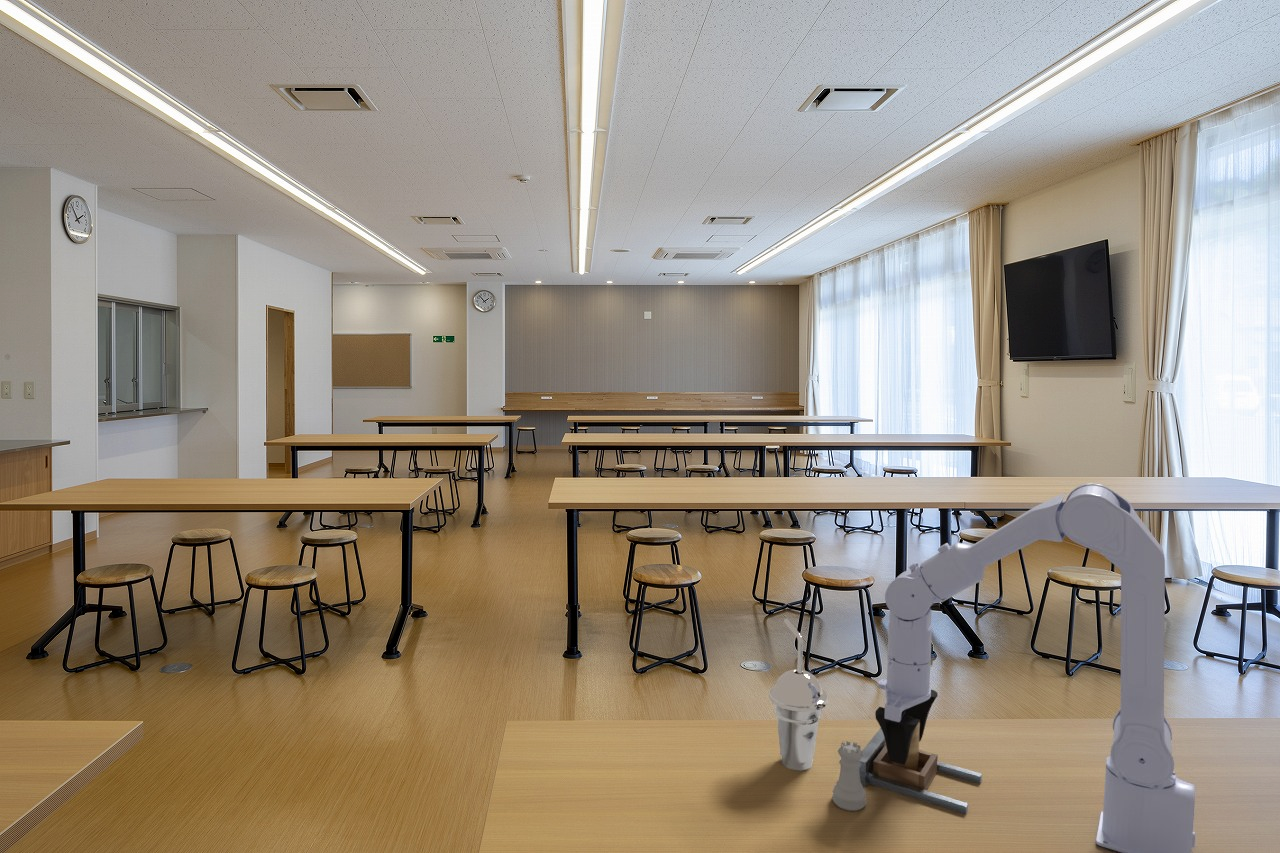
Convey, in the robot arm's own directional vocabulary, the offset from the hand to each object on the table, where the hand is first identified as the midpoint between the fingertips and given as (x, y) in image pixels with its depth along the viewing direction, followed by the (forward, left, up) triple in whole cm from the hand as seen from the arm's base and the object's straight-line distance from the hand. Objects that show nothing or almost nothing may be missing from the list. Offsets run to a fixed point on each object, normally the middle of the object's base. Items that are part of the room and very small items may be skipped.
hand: (905, 750), depth 112 cm
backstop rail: (-2, 0, -4) cm, 4 cm away
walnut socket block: (0, 0, -4) cm, 4 cm away
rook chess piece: (+4, +11, -4) cm, 12 cm away
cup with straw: (+14, +5, -4) cm, 16 cm away
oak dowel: (0, 0, -3) cm, 3 cm away
